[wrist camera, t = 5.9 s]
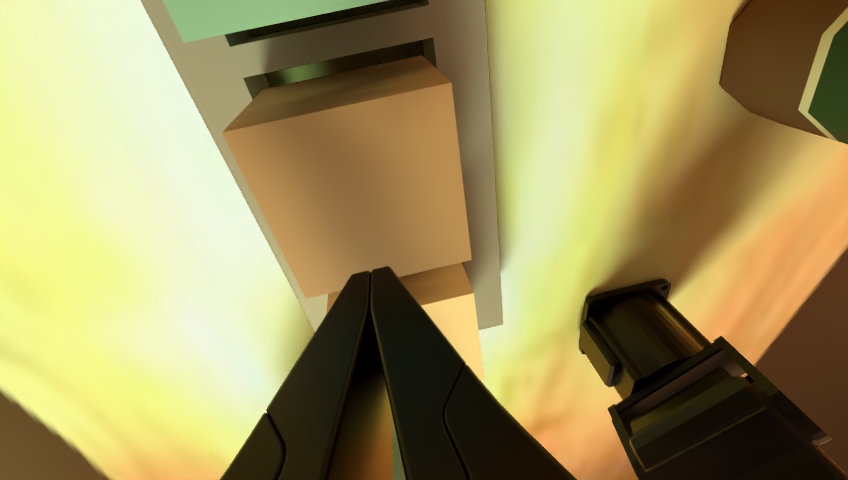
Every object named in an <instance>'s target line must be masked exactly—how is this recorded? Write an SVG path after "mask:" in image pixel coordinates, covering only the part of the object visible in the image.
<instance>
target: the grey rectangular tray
mask: <svg viewBox="0 0 848 480" xmlns="http://www.w3.org/2000/svg"><path fill="white" fill-rule="evenodd" d="M416 1H417V3H415V4H410V5H406V6H401V7H396V8H391V9H386V10H382V11H377V12H372V13H367V14H363V15H358V16H353V17H348V18H343V19H339V20H334V21H329V22H324V23H320V24H315V25H310V26H305V27H300V28H296V29H291V30H286V31H281V32H277V33H272V34H267V35H262V36H257V37H253V38H250V36H249V33H248V31H247V30H244V31H239V32H234V33H229V34H224V35H220V36H215V37H210V38H205V39H200V40H196V41H191V42H186V43H184V42H183V40H182V38H181V36H180V34H179V32H178V30H177V28H176V26H175V24H174V22H173V20H172V18H171V16H170V14H169V12H168V10H167V8H166V6H165V4H164V2H163V0H141V2H142V4H143V6H144V8H145V10H146V12H147V14H148V15H149V17H150V19H151V21H152V23H153V25H154V27H155V29H156V31H157V33H158V34H159V36H160V38H161V40H162V42H163V44H164V46H165V48H166V50H167V52H168V54H169V55H170V57H171V59H172V61H173V63H174V65H175V67H176V69H177V71H178V73H179V74H180V76H181V78H182V80H183V82H184V84H185V86H186V88H187V90H188V92H189V94H190V95H191V97H192V99H193V101H194V103H195V105H196V107H197V109H198V111H199V113H200V114H201V116H202V118H203V120H204V122H205V124H206V126H207V128H208V130H209V132H210V133H211V135H212V137H213V139H214V141H215V143H216V145H217V147H218V149H219V151H220V153H221V154H222V156H223V158H224V160H225V162H226V164H227V166H228V168H229V170H230V172H231V173H232V175H233V177H234V179H235V181H236V183H237V185H238V187H239V189H240V191H241V193H242V194H243V196H244V198H245V200H246V202H247V204H248V206H249V208H250V210H251V212H252V213H253V215H254V217H255V219H256V221H257V223H258V225H259V227H260V229H261V231H262V232H263V234H264V236H265V238H266V240H267V242H268V244H269V246H270V248H271V250H272V252H273V253H274V255H275V257H276V259H277V261H278V263H279V265H280V267H281V269H282V271H283V272H284V274H285V276H286V278H287V280H288V282H289V284H290V286H291V288H292V290H293V291H294V293H295V295H296V297H297V299H298V301H299V303H300V305H301V307H302V309H303V311H304V312H305V314H306V316H307V318H308V320H309V322H310V324H311V326H312V328H313V330H314V331H316V330H317V328H318V327H319V325H320V324H321V322H322V320H323V319H324V317H325V316H326V312H327V301H328V294H324V295H320V296H316V297H312V298H307V299H306V298H305V296H304V294H303V292H302V290H301V288H300V286H299V284H298V282H297V280H296V278H295V276H294V274H293V272H292V270H291V268H290V266H289V264H288V263H287V261H286V259H285V257H284V255H283V253H282V251H281V249H280V247H279V245H278V243H277V241H276V239H275V237H274V235H273V233H272V231H271V229H270V227H269V225H268V223H267V221H266V219H265V217H264V215H263V213H262V211H261V209H260V207H259V205H258V203H257V201H256V199H255V197H254V195H253V193H252V191H251V189H250V187H249V185H248V183H247V181H246V179H245V178H244V176H243V174H242V172H241V170H240V168H239V166H238V164H237V162H236V160H235V158H234V156H233V154H232V152H231V150H230V148H229V146H228V144H227V142H226V140H225V138H224V136H223V134H222V132H223V131H224V130H225V129H226V128H227V126H228V125H229V124H230V123H231V122H232V121H233V120H234V119H235V118H236V117H237V116H238V115H239V114H240V113H241V112H242V111H243V110H244V109H245V108H246V107H247V105H248V104H249V103H250V102H251V101H252V100H253V99H254V98H255V97H256V96H257V95H258V94H259V93H260V92H261V91H262V90H263V89H267V88H270V86H269V84H268V81H267V79H266V76H265V74H264V73H268V72H273V71H278V70H282V69H287V68H292V67H297V66H301V65H306V64H311V63H315V62H320V61H325V60H329V59H334V58H339V57H344V56H348V55H353V54H358V53H362V52H367V51H372V50H376V49H381V48H386V47H391V46H395V45H400V44H405V43H409V42H414V41H419V40H422V42H423V48H424V55H425V58H426V59H427V60H428V61H429V62H430V63H431V64H432V65H433V66H434V67H435V68H436V69H437V70H438V71H440V72H441V73H442V74H443V75H444V76H445V77H446V78H447V79H448V80H449V81H450V82H451V83H452V91H453V100H454V109H455V117H456V126H457V135H458V143H459V152H460V161H461V170H462V178H463V187H464V196H465V204H466V213H467V222H468V231H469V239H470V248H471V257H472V260H469V261H465V262H462V264H463V267H464V269H465V272H466V274H467V277H468V279H469V282H470V284H471V287H472V290H473V292H474V298H475V306H476V315H477V323H478V330H481V329H485V328H490V327H494V326H498V325H502V324H503V313H502V295H501V277H500V260H499V242H498V225H497V207H496V189H495V172H494V154H493V136H492V119H491V101H490V84H489V66H488V48H487V31H486V13H485V0H416Z"/></svg>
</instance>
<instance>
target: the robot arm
mask: <svg viewBox="0 0 848 480" xmlns="http://www.w3.org/2000/svg"><path fill="white" fill-rule="evenodd" d="M670 288H671V284H670V283H669V282H668V281H667V280H665V279H662V280H658V281H654V282H650V283H646V284H641V285H637V286H633V287H629V288H625V289H621V290H617V291H612V292H608V293H604V294H600V295H596V296H592V297H589V298H588V299H587V300H586V302H585V307H584V315H583V322H582V324H581V331H580V338H579V350H580V351H581V353H582V354H586V355H587V357H588V359H589V360H590V362H591V363H592V365H593V366H594V368H595V370H596V371H597V373H598V374H599V376H600V377H601V379H602V380H603V382H604V384H605V385H607V386H608V387H612V386H614V388H615V389H616V391H617V392H618V394H619V395H620V397H621V398H622V401H621V402H619V403H618V404H616V405H615V404H613V405H612V406H610V407H609V408H608V411H609V413H610V415H611V417H612V422H613V425H614V427H615V429H616V431H617V434H618V436H619V438H620V440H621V442H622V445H623V447H624V449H625V451H626V454H627V456H628V458H629V460H630V462H631V465H632V467H633V469H634V471H635V473H636V476H637V479H638V480H848V475H847V474H846V473H845V472H843V470H842V469H840V467H839V466H837V465H836V464H835V463H834V462H833V461H832V460H831V459H830V458H829V457H828V456H827V455H826V454H825V453H824V452H823V451H822V450H821V449H820V448H819V447H818V445H820V444H823V443H825V442H827V441H830V440H831V438H830V437H829V436H828V435H827V434H826V433H825V432H824V431H822V430H821V429H820V428H819V427H818V426H817V425H816V424H815V423H814V422H813V421H812V420H811V419H810V418H809V417H807V416H806V415H805V414H804V413H803V412H802V411H801V410H800V409H799V408H798V407H796V405H795V404H794V403H792V402H791V401H790V400H789V399H788V398H787V397H786V396H785V395H784V394H783V393H782V392H781V391H780V390H779V389H777V387H775V386H774V385H773V384H772V383H771V382H770V381H769V380H768V379H767V378H766V377H765V376H764V375H763V374H762V373H760V372H759V371H758V370H757V369H756V368H755V367H754V366H753V365H752V364H751V363H750V362H749V361H748V360H747V359H746V358H744V357H743V356H742V355H741V354H740V353H739V352H738V351H737V350H736V349H735V348H734V347H733V346H732V345H731V344H729V343H728V342H727V341H726V340H725V339H724V338H723V337H722V336H720V337H718V338H717V339H715V340H714V343H712V344H711V343H710V342H709V341H708V340H707V339H706V338H705V337H704V336H703V335H702V334H701V333H700V332H699V331H698V330H697V329H696V328H695V327H694V326H693V325H692V324H691V323H690V322H689V321H688V320H687V319H686V318H685V317H684V316H683V315H682V314H681V313H680V312H679V311H678V310H677V309H676V308H675V307H674V306H673V305H672V304H671V303H670V302H669V301H668V300H667V297H668V294H669V291H670ZM744 373H747V374H748V376H746V377H745V378H744V377H741V375H743V374H744ZM266 411H267V413H268V414H267V413H264V414H263V415H262V417H261V418H260V420H259V421H258V423H257V425H256V426H255V428H254V429H253V431H252V433H251V434H250V436H249V437H248V439H247V440H246V442H245V443H244V445H243V446H242V448H241V449H240V451H239V452H238V454H237V455H236V457H235V458H234V460H233V461H232V463H231V464H230V466H229V467H228V469H227V470H226V472H225V473H224V474H223V476H222V477H221V478H220V480H393V453H392V417H393V421H394V426H395V431H396V436H397V440H398V445H399V450H400V454H401V459H402V464H403V469H404V473H405V478H406V480H577V479H576V478H575V477H574V476H573V475H572V474H571V473H570V472H569V471H568V470H567V469H565V468H564V467H563V466H562V465H561V464H560V463H559V462H558V461H557V460H556V459H555V458H554V457H553V456H552V455H551V454H550V453H549V452H548V451H547V450H546V449H545V448H544V447H543V446H542V445H541V444H540V443H539V442H538V441H537V440H536V439H535V438H534V437H533V436H532V435H530V434H529V433H528V432H527V431H526V430H525V429H524V428H523V427H522V426H521V425H520V424H519V423H518V421H517V420H516V419H515V418H514V417H513V416H512V415H511V414H510V413H509V412H508V411H507V410H506V409H505V408H504V407H503V406H502V405H501V404H500V403H499V402H498V401H497V399H496V398H495V397H494V396H493V395H492V393H491V392H490V391H489V390H488V389H487V388H486V386H485V385H484V384H483V383H482V382H481V381H480V379H479V378H478V377H477V376H476V374H475V373H474V372H473V370H472V369H471V368H470V367H469V366H468V365H466V362H465V361H464V359H463V358H462V357H461V356H460V354H459V353H458V352H457V351H456V349H455V348H454V347H453V346H452V344H451V343H450V342H449V340H448V339H447V338H446V337H445V335H444V334H443V333H442V332H441V330H440V329H439V328H438V327H437V325H436V324H435V323H434V322H433V320H432V319H431V318H430V316H429V315H428V314H427V313H426V311H425V310H424V309H423V308H422V306H421V305H420V304H419V303H418V301H417V300H416V299H415V297H414V296H413V295H412V294H411V292H410V291H409V290H408V289H407V287H406V286H405V285H404V284H403V282H402V281H401V280H400V278H399V277H398V276H397V275H396V273H395V272H394V271H393V270H392V268H391V267H389V266H385V267H381V268H376V269H373V270H372V271H371V272H370V271H363V272H359V273H354V274H352V275H351V276H350V278H349V279H348V281H347V282H346V284H345V285H344V287H343V289H342V290H341V292H340V293H339V295H338V297H337V298H336V300H335V301H334V303H333V304H332V306H331V308H330V309H329V311H328V312H327V314H326V316H325V317H324V319H323V320H322V322H321V324H320V325H319V327H318V328H317V330H316V331H315V333H314V335H313V336H312V338H311V339H310V341H309V343H308V344H307V346H306V347H305V349H304V350H303V352H302V354H301V355H300V357H299V358H298V360H297V362H296V363H295V365H294V366H293V368H292V369H291V371H290V373H289V374H288V376H287V377H286V379H285V381H284V382H283V384H282V385H281V387H280V388H279V390H278V392H277V393H276V395H275V396H274V398H273V400H272V401H271V403H270V404H269V406H268V407H267V410H266Z"/></svg>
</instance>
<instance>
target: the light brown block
mask: <svg viewBox="0 0 848 480" xmlns="http://www.w3.org/2000/svg"><path fill="white" fill-rule="evenodd" d="M399 278H400V280H401V281H402V282H403V284H404V285H405V286H406V287H407V289H408V290H409V291H410V292H411V294H412V295H413V296H414V297H415V299H416V300H417V301H418V303H419V304H420V305H421V306H422V308H423V309H424V310H425V311H426V313H427V314H428V315H429V316H430V318H431V319H432V320H433V322H434V323H435V324H436V325H437V327H438V328H439V329H440V330H441V332H442V333H443V334H444V335H445V337H446V338H447V339H448V340H449V342H450V343H451V344H452V346H453V347H454V348H455V349H456V351H457V352H458V353H459V354H460V356H461V357H462V358H463V359H464V361H465V362H466V365H468V366H469V367H470V368H471V369H472V370H473V372H474V373H475V374H476V376H477V377H478V378H479V379H480V381H481V380H484V374H483V365H482V357H481V349H480V340H479V332H478V323H477V315H476V306H475V298H474V292H473V290H472V287H471V284H470V282H469V279H468V277H467V274H466V272H465V269H464V267H463V264H462V262H461V263H457V264H452V265H448V266H444V267H440V268H435V269H431V270H427V271H422V272H418V273H414V274H410V275H405V276H401V277H399ZM340 292H341V291H337V292H333V293H329V294H328V301H327V312H328V311H329V309H330V308H331V306H332V304H333V303H334V301H335V300H336V298H337V297H338V295H339V293H340ZM327 312H326V314H327Z"/></svg>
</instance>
